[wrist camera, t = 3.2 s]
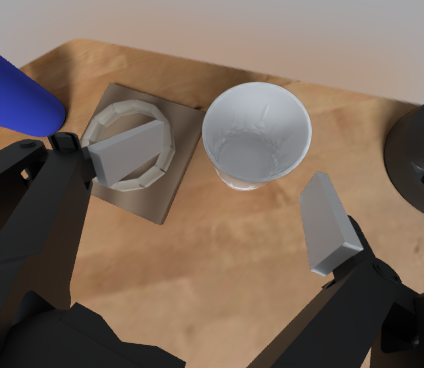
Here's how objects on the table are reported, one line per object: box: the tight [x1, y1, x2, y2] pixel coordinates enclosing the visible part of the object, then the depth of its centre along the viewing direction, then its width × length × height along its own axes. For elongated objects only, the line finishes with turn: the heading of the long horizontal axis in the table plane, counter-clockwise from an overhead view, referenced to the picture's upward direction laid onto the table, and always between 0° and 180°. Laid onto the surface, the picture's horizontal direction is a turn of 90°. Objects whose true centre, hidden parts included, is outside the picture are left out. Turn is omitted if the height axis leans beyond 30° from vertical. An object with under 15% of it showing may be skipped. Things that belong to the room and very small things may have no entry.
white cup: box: [202, 82, 312, 191], centre depth 17 cm, size 8×8×10 cm
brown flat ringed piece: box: [79, 83, 206, 225], centre depth 22 cm, size 16×16×3 cm
